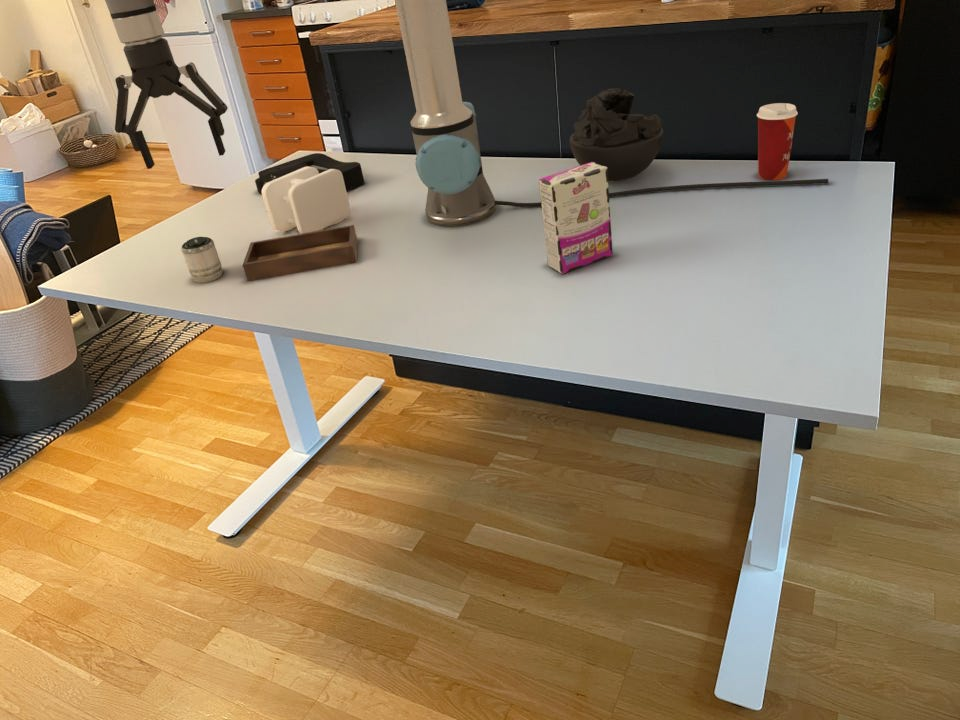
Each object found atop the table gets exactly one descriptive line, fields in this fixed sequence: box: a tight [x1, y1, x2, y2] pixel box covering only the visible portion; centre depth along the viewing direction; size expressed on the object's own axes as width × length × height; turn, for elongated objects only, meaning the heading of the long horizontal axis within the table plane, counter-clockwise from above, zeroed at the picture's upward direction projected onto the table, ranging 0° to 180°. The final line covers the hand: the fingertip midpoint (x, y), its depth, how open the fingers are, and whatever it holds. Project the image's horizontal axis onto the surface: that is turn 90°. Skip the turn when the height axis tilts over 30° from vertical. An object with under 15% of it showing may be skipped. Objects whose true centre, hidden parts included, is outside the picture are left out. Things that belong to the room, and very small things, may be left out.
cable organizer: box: [261, 167, 351, 234], centre depth 164 cm, size 15×11×12 cm
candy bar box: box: [538, 162, 613, 275], centre depth 129 cm, size 11×5×16 cm, turn 117°
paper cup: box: [756, 102, 799, 181], centre depth 152 cm, size 8×8×14 cm
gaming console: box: [254, 152, 365, 195], centre depth 189 cm, size 27×20×7 cm
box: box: [242, 224, 358, 282], centre depth 150 cm, size 22×12×4 cm, turn 97°
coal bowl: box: [569, 87, 664, 182], centre depth 162 cm, size 20×20×19 cm
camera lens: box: [180, 236, 223, 284], centre depth 149 cm, size 6×6×8 cm
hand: (186, 160), depth 141 cm, fingers open, 13 cm apart
